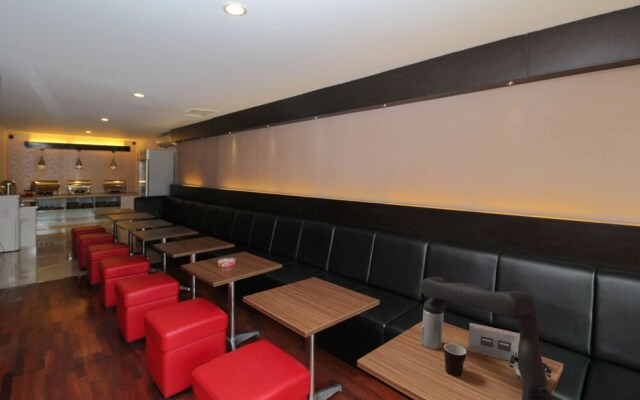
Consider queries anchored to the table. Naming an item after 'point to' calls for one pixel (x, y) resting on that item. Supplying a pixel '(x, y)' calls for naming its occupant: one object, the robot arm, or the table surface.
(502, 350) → the psu panel
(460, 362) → the coffee mug
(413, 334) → the table surface
